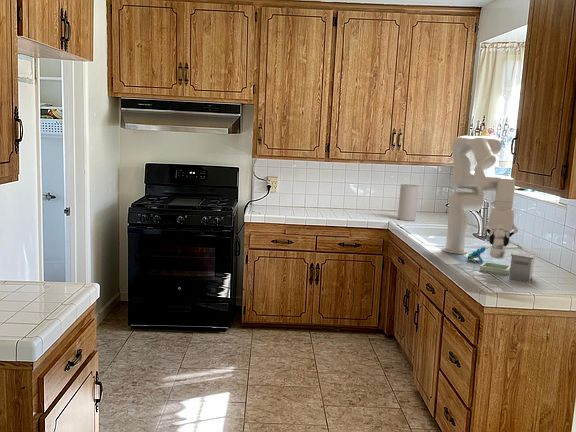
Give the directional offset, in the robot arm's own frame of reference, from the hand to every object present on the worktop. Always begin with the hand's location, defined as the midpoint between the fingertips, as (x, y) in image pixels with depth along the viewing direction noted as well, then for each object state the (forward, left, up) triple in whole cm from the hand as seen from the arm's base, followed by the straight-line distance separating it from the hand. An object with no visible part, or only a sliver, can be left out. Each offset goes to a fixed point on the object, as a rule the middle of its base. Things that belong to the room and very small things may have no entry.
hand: (498, 244), depth 251 cm
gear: (-16, -12, -12) cm, 23 cm away
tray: (0, 0, -12) cm, 12 cm away
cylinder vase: (-124, -83, -12) cm, 150 cm away
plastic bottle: (0, 0, -7) cm, 7 cm away
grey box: (+6, +11, -12) cm, 18 cm away
